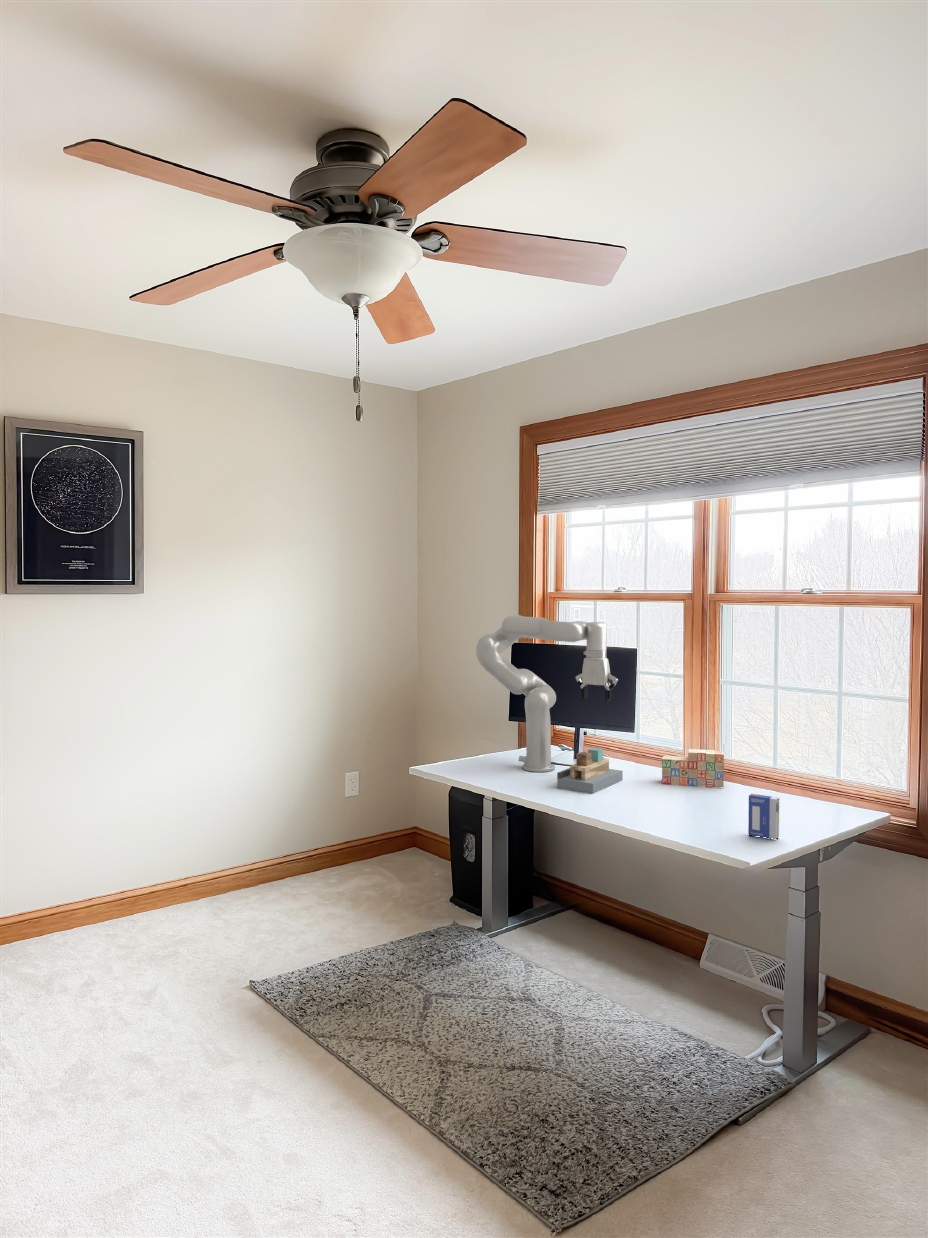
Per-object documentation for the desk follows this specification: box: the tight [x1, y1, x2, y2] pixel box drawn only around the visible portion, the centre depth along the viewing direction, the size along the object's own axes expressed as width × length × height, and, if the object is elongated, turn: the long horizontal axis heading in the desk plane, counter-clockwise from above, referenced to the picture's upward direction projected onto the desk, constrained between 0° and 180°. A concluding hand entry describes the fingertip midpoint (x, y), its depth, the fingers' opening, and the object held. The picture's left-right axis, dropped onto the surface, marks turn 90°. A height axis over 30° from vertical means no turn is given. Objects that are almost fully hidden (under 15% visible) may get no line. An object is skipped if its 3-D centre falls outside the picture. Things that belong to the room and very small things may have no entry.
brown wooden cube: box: [575, 751, 592, 766], centre depth 296 cm, size 4×4×4 cm
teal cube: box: [587, 747, 604, 762], centre depth 303 cm, size 4×4×4 cm
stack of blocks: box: [661, 748, 725, 788], centre depth 299 cm, size 21×6×12 cm, turn 72°
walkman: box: [747, 793, 780, 839], centre depth 236 cm, size 8×3×12 cm, turn 55°
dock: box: [556, 767, 624, 795], centre depth 300 cm, size 14×24×6 cm, turn 145°
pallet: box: [569, 757, 610, 781], centre depth 300 cm, size 6×19×4 cm, turn 145°
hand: (596, 699), depth 316 cm, fingers open, 9 cm apart
